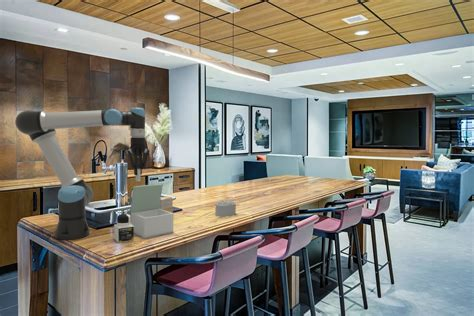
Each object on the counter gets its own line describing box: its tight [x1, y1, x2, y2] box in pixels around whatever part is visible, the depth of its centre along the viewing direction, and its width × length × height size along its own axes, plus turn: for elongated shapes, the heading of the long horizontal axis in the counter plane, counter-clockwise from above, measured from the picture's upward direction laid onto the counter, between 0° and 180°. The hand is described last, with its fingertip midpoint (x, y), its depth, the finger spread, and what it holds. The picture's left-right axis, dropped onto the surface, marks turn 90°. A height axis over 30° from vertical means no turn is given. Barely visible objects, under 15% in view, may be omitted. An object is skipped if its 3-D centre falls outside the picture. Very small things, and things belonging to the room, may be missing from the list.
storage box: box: [130, 209, 174, 240], centre depth 172 cm, size 16×14×10 cm
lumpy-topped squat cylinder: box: [214, 199, 237, 218], centre depth 213 cm, size 10×13×9 cm
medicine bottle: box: [113, 213, 135, 244], centre depth 159 cm, size 7×7×12 cm
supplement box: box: [159, 196, 174, 214], centre depth 197 cm, size 8×5×13 cm, turn 141°
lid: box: [129, 183, 164, 214], centre depth 175 cm, size 16×14×1 cm
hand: (138, 181), depth 182 cm, fingers closed
